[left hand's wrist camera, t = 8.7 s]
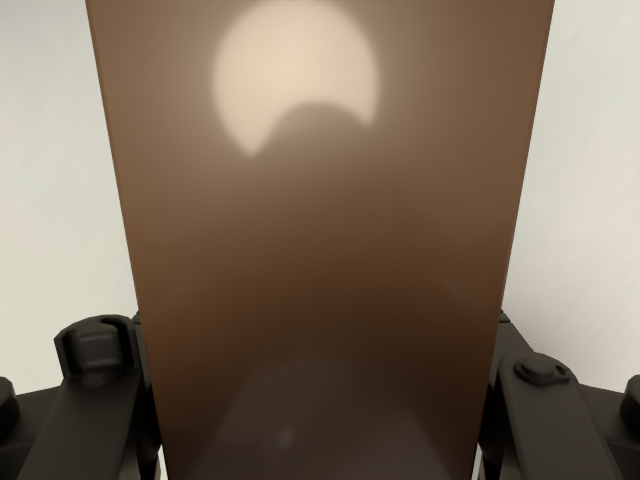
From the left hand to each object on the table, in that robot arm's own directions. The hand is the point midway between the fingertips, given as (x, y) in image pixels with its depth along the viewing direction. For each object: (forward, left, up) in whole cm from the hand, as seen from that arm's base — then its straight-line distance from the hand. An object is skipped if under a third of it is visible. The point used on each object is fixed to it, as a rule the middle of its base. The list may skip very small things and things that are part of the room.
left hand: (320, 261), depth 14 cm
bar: (+7, 0, -1) cm, 7 cm away
